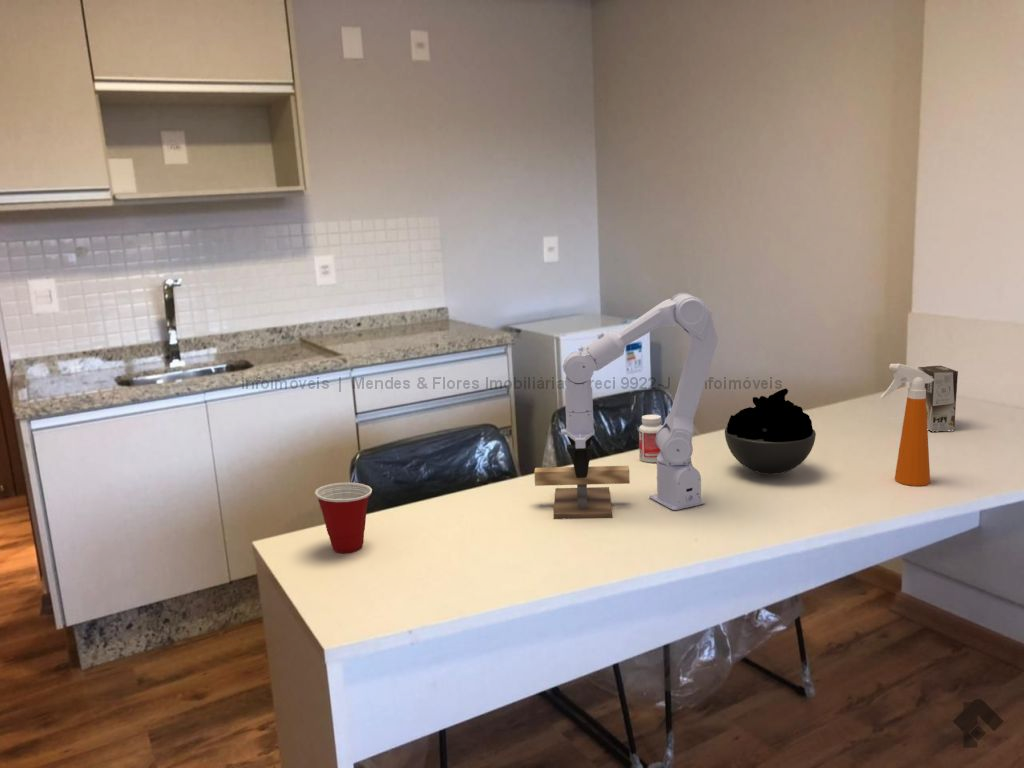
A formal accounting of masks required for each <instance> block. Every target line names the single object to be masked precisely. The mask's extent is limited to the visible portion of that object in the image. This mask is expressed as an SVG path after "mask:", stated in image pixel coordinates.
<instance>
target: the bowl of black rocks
mask: <svg viewBox="0 0 1024 768" xmlns="http://www.w3.org/2000/svg"><path fill="white" fill-rule="evenodd" d="M788 393H789V389H788V388H782V389H781V390H778V391H776V392H774V393H773V394H770V395H769V396H768V397H767V396H764V395H761V396H759V397H758V396H753V397H752V403H753V405H754V407H751V406H749V407H746V408H743V409H740V410H739V411H738V412H737V413H735V414H731V415H730V417H729V420H728V421H727V424H726V427H725V429H724V438H725V443H726V445H727V448H728V449H729V451H730V452H731V455H732V456H733V457H734V458H735V460H736V461H737V462H738V463H740V464H741V465H742V466H743V467H745V468H747V469H748V470H751V471H753V472H755V473H757V474H763V475H779V474H784V473H787V472H789V471H792V470H794V469H796V468H797V467H798V466H800V465H801V464H802V463H803V462H804V461H806V459H807V457H808V456H809V455H810V453H811V452H812V450H813V448H814V444H815V441H816V436H817V435H816V430H815V429H814V428H813V421H812V419H811V418H810V415H809V414H808V413H806V412H804V410H803V407H801V406H799V405H797V404H794V402H792V401H790V400H789V399H786V396H787V395H788Z"/></svg>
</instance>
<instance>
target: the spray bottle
mask: <svg viewBox="0 0 1024 768" xmlns="http://www.w3.org/2000/svg"><path fill="white" fill-rule="evenodd" d="M889 370H890V371H894V373H893V380H892V382H891V383H890V385H889V386H888V387H887V389H886V390H885V391H884V393H883V394H882V395H880V396H879V397H880V399H881V400H882V399H883V398H885V397H887V396H889V395H891V394H892V393H893V392H895V391H896V390H897V389H898V387H900V386H902V385H903V384H904V383H907V382H908V383H909V387H908V388H907V397H906V402H905V403H906V404H905V410H904V415H903V422H902V428H901V436H900V441H899V448H898V455H897V461H896V468H895V475H894V480H895V482H897V483H898V482H899V483H898V484H901V485H903V486H909V485H910V486H912V487H922V486H927V485H929V484H930V483H931V470H930V469H931V468H930V455H929V454H930V452H929V433H928V432H929V431H928V430H927V411H926V389H925V383H930V382H932V381H934V379H933V378H932V377H930V376H929V375H928V374H926V373H924V372H923V371H920V370H918V368H915V367H912V366H910V365H906V364H901V363H890V364H889ZM910 486H909V487H910Z"/></svg>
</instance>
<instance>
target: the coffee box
mask: <svg viewBox="0 0 1024 768" xmlns="http://www.w3.org/2000/svg"><path fill="white" fill-rule="evenodd" d="M917 369H918V370H920V371H923V372H924V373H926V374H928V375H929V376H930V377H932V378H933V379H934V381H932V382H930V383H925V389H926V411H927V429H928V430H930V431H948V430H950V431H949V432H953V431H952V430H954V431H955V425H956V422H955V421H956V407H957V393H958V392H957V391H958V376H959V371H957V370H955V369H952V368H950V367H946V366H943V365H928V366H918V368H917ZM930 431H929V432H930Z"/></svg>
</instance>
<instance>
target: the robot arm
mask: <svg viewBox="0 0 1024 768" xmlns="http://www.w3.org/2000/svg"><path fill="white" fill-rule="evenodd" d="M676 323H677V324H678V325H679V326H680V327H681V328H682V329H683V331H684V332H685V335H687V337H688V339H689V340H690V345H689V348H688V352H687V355H686V359H685V363H684V365H683V368H682V371H681V375H680V378H679V382H678V385H677V389H676V393H675V395H674V398H673V402H672V406H671V409H670V412H669V413H668V415H667V416H666V417H665V419H664V423H663V425H662V427H661V428H660V429H659V430H658V432H657V434H656V438H655V440H656V444H657V446H658V448H659V449H660V453H659V455H658V456H657V462H656V492H657V493H654V494H650V495H649V496H648V497H649V498H650V500H653V501H655V502H657V503H659V504H661V505H662V506H664V507H666V508H668V509H670V510H672V511H677V510H683V509H688V508H691V507H694V506H695V507H696V506H700V505H704V504H705V501H704V500H702V477H701V474H700V471H699V470H698V469H697V468H696V467H695V466H694V465H693V463H692V455H693V451H694V450H693V449H694V448H693V438H694V437H693V436H694V421H695V417H696V413H697V410H698V406H699V403H700V401H701V396H702V393H703V390H704V387H705V383H706V380H707V378H708V377H707V376H708V374H709V371H710V367H711V364H712V360H713V357H714V354H715V351H716V347H717V344H718V335H717V332H716V328H715V324H714V321H713V315H712V311H711V309H710V308H709V307H708V306H707V304H706V303H705V302H704V300H702V299H701V298H700V297H696V296H693V294H690V293H689V292H688V293H687V292H679V293H676V294H675V295H673V296H672V297H671V298H667V299H665V300H664V301H662V302H660V303H658V304H657V305H655V306H654V307H652V308H651V309H650V310H648V311H647V312H645V313H644V314H642V315H641V316H640V317H638V318H637V319H634V320H633V321H632V322H631V323H629V324H628V325H627V326H625V327H624V328H622V329H620V330H619V331H618V332H613V331H606V332H605V333H604V332H603V331H601V332H599V333H598V334H597V335H596V336H597V338H596V339H594V340H592V341H591V342H590V343H589V342H588V344H586V345H585V346H583V345H581V346H579V347H578V351H573V352H570V353H569V354H567V356H566V357H565V358H564V361H563V364H562V370H563V372H564V374H565V380H564V384H565V388H564V398H565V399H564V401H565V402H564V403H565V424H566V427H565V428H563V429H560V434H561V435H563V436H565V435H566V436H567V439H568V441H569V442H570V444H566V450H567V452H568V454H569V456H570V458H571V461H572V464H573V467H574V470H575V474H576V477H577V478H586V477H587V474H588V467H590V466H589V465H590V460H591V457H592V455H593V452H594V450H595V445H591V442H592V440H593V437H594V435H595V428H594V407H593V406H594V403H593V402H594V401H593V387H592V377H593V375H594V372H595V371H596V372H598V371H600V370H602V369H603V368H605V367H606V366H608V365H610V363H612V362H613V361H615V360H617V359H619V358H620V357H622V356H623V355H624V353H625V349H626V347H627V346H628V345H630V344H631V343H633V342H635V341H637V340H639V339H640V338H642V337H644V336H646V335H647V334H649V333H650V332H652V331H654V330H655V329H657V328H659V327H664V328H665V327H669V328H670V327H673V328H674V327H677V325H676Z"/></svg>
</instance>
